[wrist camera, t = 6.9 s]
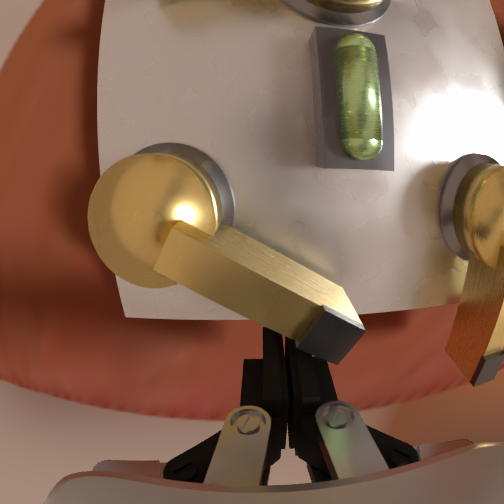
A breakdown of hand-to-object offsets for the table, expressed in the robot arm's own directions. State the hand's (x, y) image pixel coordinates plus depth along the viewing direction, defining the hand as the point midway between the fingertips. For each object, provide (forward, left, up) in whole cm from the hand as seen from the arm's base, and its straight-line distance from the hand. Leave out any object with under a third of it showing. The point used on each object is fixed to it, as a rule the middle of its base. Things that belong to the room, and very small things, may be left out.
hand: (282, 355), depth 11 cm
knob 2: (-3, +10, -1) cm, 10 cm away
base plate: (-10, +3, -4) cm, 11 cm away
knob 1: (-4, -2, -1) cm, 5 cm away
